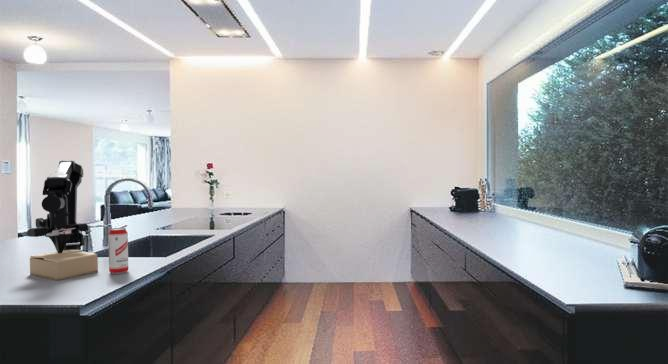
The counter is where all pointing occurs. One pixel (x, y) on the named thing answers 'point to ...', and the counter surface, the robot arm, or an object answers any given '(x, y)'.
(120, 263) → the beer can
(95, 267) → the cardboard box
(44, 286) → the counter surface
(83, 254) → the flap
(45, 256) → the flap
